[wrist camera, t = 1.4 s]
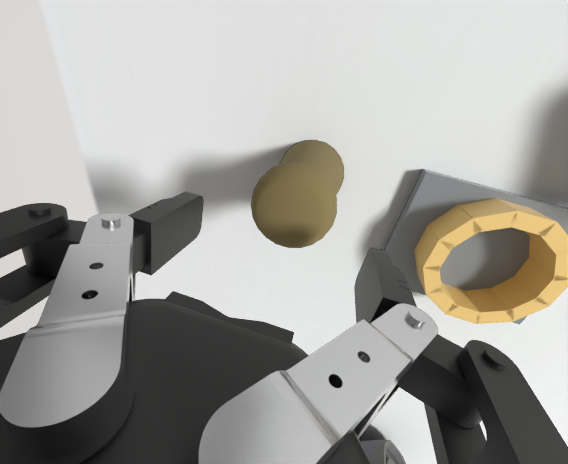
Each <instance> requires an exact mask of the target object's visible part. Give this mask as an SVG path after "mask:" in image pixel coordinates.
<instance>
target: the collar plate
mask: <svg viewBox="0 0 568 464" xmlns="http://www.w3.org/2000/svg"><path fill="white" fill-rule="evenodd" d="M384 251H385V252H388V253H389V256H390V259H391V262H392V265H394V266H397V267H398V268H399V269H400V270H401V271H402V272H403V273H404V275H405V277H406V280H407V284H408V285H409V288H410V290H412V291H415V292H418V293H421V294H425V295H427V296H428V297H429V298H430V299H431V300H432V301H433V302H434V303H435V304H436V305H437V306H438V307H439V308H440V309H441V310H442V311H443V312H444V313H445V314H447V315H450V316H453V317H456V318H460V319H463V320H466V321H469V322H472V323H475V324H476V323H477V324H482V323H498V322H514V323H517V324H520V323H521V322H522V321H523V320H524V319H525V318H526V317H527V316H528V315H530V314H532V313H535V312H537V311H539V310H542V309H544V308H546V307H549V306H550V305H551V304H552V303H553V302H554V301H555V300H556V299H557V297H558V296H559V295H560V294H561V293H562V292H563V291H564V290H565V289H566V288H567V287H568V208H565V207H561V206H557V205H554V204H550V203H546V202H543V201H539V200H535V199H532V198H528V197H524V196H520V195H517V194H513V193H509V192H506V191H502V190H498V189H495V188H491V187H487V186H484V185H480V184H476V183H473V182H469V181H465V180H462V179H458V178H454V177H451V176H447V175H443V174H440V173H436V172H432V171H429V170H425V169H423V170H422V172H421V174H420V176H419V178H418V180H417V182H416V185H415V187H414V189H413V191H412V193H411V195H410V197H409V199H408V201H407V203H406V205H405V208H404V210H403V212H402V214H401V216H400V218H399V220H398V222H397V224H396V226H395V228H394V231H393V233H392V235H391V237H390V239H389V241H388V243H387V245H386V247H385V249H384ZM548 305H549V306H548Z"/></svg>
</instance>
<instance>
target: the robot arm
mask: <svg viewBox="0 0 568 464" xmlns="http://www.w3.org/2000/svg"><path fill="white" fill-rule="evenodd" d="M66 211H67V210H66V208H65V207H63V206H61V205H57V204H51V203H36V204H29V205H24V206H20V207H17V208H14V209H11V210H8V211H4V212H2V213H0V258H2V257H4V256H6V255H8V254H10V253H12V252H14V251H17V250H19V249H21V248H22V251H23V254H24V258H25V262H26V265H24V266H22V267H20V268H19V269H17V270H15V271H13V272H11V273H9V274H7V275H5V276H3V277H1V278H0V328H1V327H2V326H4V325H5V324H7V323H8V322H10V321H11V320H13V319H14V318H16V317H17V316H19V315H20V314H22V313H23V312H25V311H26V310H28V309H29V308H31V307H32V306H34V305H35V304H37V303H38V302H40V301H41V300H43V299H44V298H46V297H47V296H49V297H48V300H47V302H46V305H45V307H44V310H43V312H42V315H41V317H40V320H39V322H38V324H37V325H36V326H35V327H33V328H31V329H29V330H28V331H27V332H26V333H23V334H19V335H16V336H13V337H9V338H6V339H3V340H0V464H372V463H371V461H370V459H369V457H368V455H367V453H366V452H365V450H364V448H363V446H362V444H361V443H360V441H359V438H360V436H361V435H362V434H363V432H364V431H365V430H366V428H367V427H368V426H369V424H370V423H371V422H372V421H373V419H374V418H375V417H376V416H377V415H378V413H379V412H380V411H381V410H382V409H383V407H384V406H385V405H386V404H387V403H388V401H389V400H390V399H391V398H392V397H393V395H394V394H395V393H396V392H397V391H398V389H399V388H402V389H403V390H405V391H406V392H408V393H409V394H411V395H413V396H414V397H416V398H417V399H419V400H420V401H422V402H423V403H424V405H425V410H426V414H427V419H428V424H429V428H430V433H431V437H432V442H433V446H434V451H435V455H436V460H437V464H568V447H567V445H566V443H565V442H564V440H563V439H562V437H561V435H560V434H559V432H558V431H557V429H556V427H555V426H554V424H553V423H552V421H551V420H550V418H549V416H548V415H547V413H546V412H545V410H544V408H543V407H542V405H541V404H540V402H539V400H538V399H537V397H536V396H535V394H534V393H533V391H532V389H531V388H530V386H529V385H528V383H527V381H526V380H525V378H524V377H523V375H522V373H521V372H520V370H519V369H518V367H517V366H516V365H515V364H514V362H513V361H512V360H511V359H510V358H508V357H507V356H506V355H505V354H504V353H502V352H501V351H499V350H498V349H496V348H495V347H493V346H491V345H489V344H487V343H485V342H482V341H478V340H471V341H469V342H468V343H467V344H466V346H465V347H464V348H462V347H460V346H458V345H456V344H454V343H452V342H451V341H449V340H447V339H445V338H443V337H442V336H440V335H438V334H437V333H438V327H437V325H436V323H435V321H434V320H433V319H432V318H431V317H430V316H429V315H428V314H427V313H425V312H424V311H422V310H421V309H419V308H417V306H416V304H415V301H414V298H413V296H412V293H411V290H410V288H409V285H408V284H407V280H406V277H405V275H404V273H403V272H402V271H401V270H400V269H399V268H398V267H397V266H394V265H392V262H391V259H390V256H389V253H388V252H385V251H381V250H378V249H375V248H370V249H369V251H368V253H367V255H366V258H365V260H364V262H363V264H362V267H361V269H360V271H359V273H358V276H357V279H356V282H355V305H356V322H357V324H355V325H354V326H352V327H351V328H349V329H348V330H346V331H345V332H343V333H342V334H340V335H339V336H337V337H336V338H334V339H333V340H331V341H330V342H329V343H327V344H326V345H324V346H323V347H321V348H320V349H318V350H317V351H315V352H314V353H312V354H311V355H307V354H306V353H305V352H304V351H303V350H302V349H301V348H299V347H298V346H297V345H295V344H293V343H292V339H293V335H294V332H292V331H289V330H286V329H283V328H280V327H277V326H274V325H271V324H268V323H265V322H260V321H253V320H245V319H237V318H230V317H227V316H225V315H224V314H222V313H221V312H219V311H217V310H216V309H214V308H212V307H211V306H209V305H207V304H206V303H204V302H203V301H200V300H197V299H194V298H192V297H189V296H186V295H183V294H180V293H177V292H174V291H173V292H172V293H171V294H170V295H169V296H168V297H167V298H166V299H143V300H136V301H135V288H136V273H137V272H138V271H140V272H143V273H146V274H149V275H152V274H153V273H155V272H156V271H157V270H158V269H159V268H161V267H162V266H163V265H164V264H165V263H167V262H168V261H169V260H170V259H171V258H173V257H174V256H175V255H176V254H177V253H179V252H180V251H181V250H182V249H183V248H185V247H186V246H187V245H188V244H189V243H191V242H192V241H193V240H194V239H195V238H196V237H197V236H198V234H199V232H200V229H201V222H202V211H203V197H202V196H200V195H197V194H193V193H190V192H184V193H181V194H179V195H177V196H175V197H173V198H169V199H163V200H160V201H158V202H156V203H154V205H153V204H152V205H150V206H147V208H146V207H145V208H143V209H141V210H139V211H137V212H135V213H133V214H130V215H125V214H121V213H103V214H98V215H95V216H93V217H91V218H89V219H88V221H87V222H82V221H74V220H68V216H67V212H66ZM481 421H483V423H484V426H485V429H486V434H487V442H486V440H485V437H484V434H483V432H482V429H481V427H480V424H479V422H481Z"/></svg>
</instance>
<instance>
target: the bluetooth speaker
mask: <svg viewBox="0 0 568 464" xmlns="http://www.w3.org/2000/svg"><path fill="white" fill-rule="evenodd" d="M360 443H361V444H362V446H363V448H364V450H365V452H366V453H367V455H368V457H369V459H370V461H371V463H372V464H406V463H405V461H404V458H403V456H402V455H401V453H400V452H399V450H398V449H397V448H396V447H395V445H394V444H393V443H392V442H391V441H390V440H368V441H360Z"/></svg>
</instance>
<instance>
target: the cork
mask: <svg viewBox="0 0 568 464" xmlns="http://www.w3.org/2000/svg"><path fill="white" fill-rule="evenodd" d="M343 179H344V166H343V163H342V160H341V157H340V156H339V154H338V153H337V152H336V150H335V149H334V148H333V147H331V146H330V145H328V144H327V143H325V142H321V141H318V140H304V141H302V142H300V143H297V144H295V145H294V146H292V147H291V148H290V149H289V150H288V151H287V152H286V153H285V155H284V157H283V159H282V160H281V163H280V165H279V166H276V167H274V168H272V169H271V170H269V171H268V172H267V173H266V174H265V175H264V176H262V177H261V178H260V180H259V182H258V183H257V185H256V187H255V189H254V192H253V197H252V202H251V208H252V216H253V219H254V221H255V223H256V225H257V227H258V229H259V230H260V231H261V232H262V233H263V234H264V236H265V237H266V238H268V239H269V240H271V241H272V242H274V243H276V244H278V245H281V246H284V247H288V248H302V247H306V246H309V245H312V244H314V243H316V242H317V241H319V240H320V239H322V238H323V237H324V236H325V234H326V233H327V232H328V231H329V229H330V228H331V227H332V225H333V222H334V220H335V217H336V214H337V197H336V194H337V193H338V191H339V189H340V188H341V185H342V182H343Z"/></svg>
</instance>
